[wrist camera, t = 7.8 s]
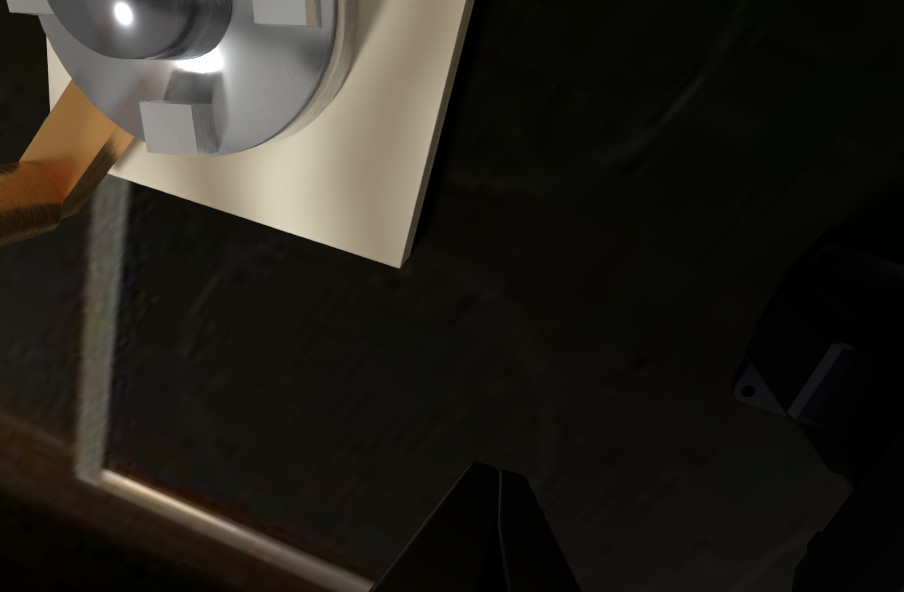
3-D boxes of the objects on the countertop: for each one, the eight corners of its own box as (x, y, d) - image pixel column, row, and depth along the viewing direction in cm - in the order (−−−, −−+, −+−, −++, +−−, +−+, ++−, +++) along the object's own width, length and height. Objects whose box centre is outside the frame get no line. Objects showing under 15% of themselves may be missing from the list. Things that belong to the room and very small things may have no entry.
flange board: (511, -148, 16) (507, -169, 14) (409, 255, 21) (399, 268, 20) (73, -269, 16) (30, -301, 15) (84, 150, 22) (52, 155, 20)
